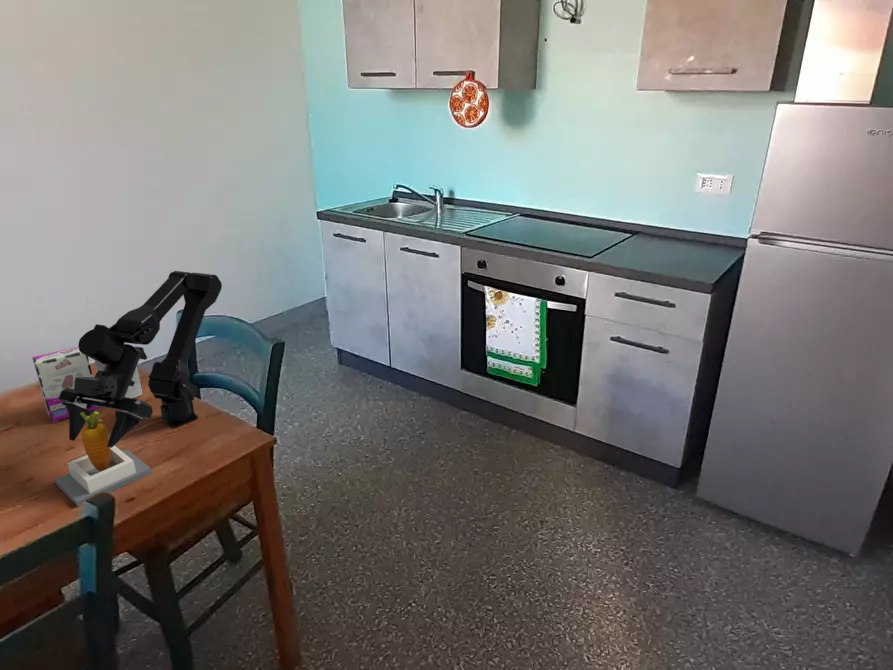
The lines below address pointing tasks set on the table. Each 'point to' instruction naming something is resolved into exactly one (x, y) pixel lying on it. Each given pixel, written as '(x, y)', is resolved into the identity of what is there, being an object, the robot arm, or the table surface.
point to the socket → (101, 475)
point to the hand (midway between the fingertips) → (90, 443)
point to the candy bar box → (60, 378)
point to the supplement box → (132, 390)
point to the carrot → (96, 442)
